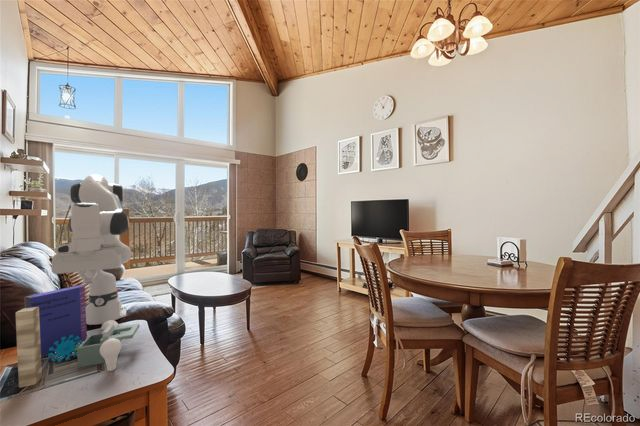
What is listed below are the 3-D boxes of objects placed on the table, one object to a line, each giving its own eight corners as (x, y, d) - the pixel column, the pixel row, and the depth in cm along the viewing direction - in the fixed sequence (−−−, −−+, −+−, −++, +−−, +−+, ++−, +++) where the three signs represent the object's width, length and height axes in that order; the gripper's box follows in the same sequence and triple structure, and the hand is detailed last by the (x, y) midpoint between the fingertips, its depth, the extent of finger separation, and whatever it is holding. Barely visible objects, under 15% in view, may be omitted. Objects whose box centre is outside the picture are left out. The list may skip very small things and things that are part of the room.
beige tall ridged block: (26, 380, 92) (23, 308, 92) (42, 377, 94) (38, 306, 94) (18, 387, 89) (15, 312, 89) (35, 384, 90) (32, 310, 90)
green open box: (90, 352, 110) (89, 335, 110) (120, 347, 114) (120, 330, 114) (77, 367, 99) (77, 348, 99) (111, 361, 103) (111, 342, 103)
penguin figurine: (116, 316, 125) (124, 325, 117) (117, 335, 125) (125, 345, 118) (99, 321, 120) (106, 330, 112) (99, 340, 121) (106, 351, 113)
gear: (41, 362, 101) (55, 334, 108) (47, 367, 105) (60, 340, 112) (77, 360, 104) (89, 333, 111) (82, 366, 108) (93, 339, 115)
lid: (110, 331, 113) (110, 323, 113) (139, 326, 117) (139, 318, 117) (100, 343, 102) (99, 334, 102) (132, 337, 106) (132, 329, 106)
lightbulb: (124, 370, 96) (122, 338, 96) (101, 378, 92) (100, 345, 92) (120, 364, 101) (119, 333, 101) (99, 371, 96) (98, 339, 96)
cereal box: (81, 338, 124) (78, 284, 124) (87, 340, 122) (84, 285, 122) (27, 357, 108) (24, 296, 108) (32, 360, 106) (29, 297, 106)
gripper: (123, 242, 111) (124, 277, 111) (57, 247, 103) (58, 284, 103) (118, 244, 105) (120, 280, 105) (48, 249, 97) (49, 288, 97)
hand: (89, 282), depth 104 cm, fingers closed
